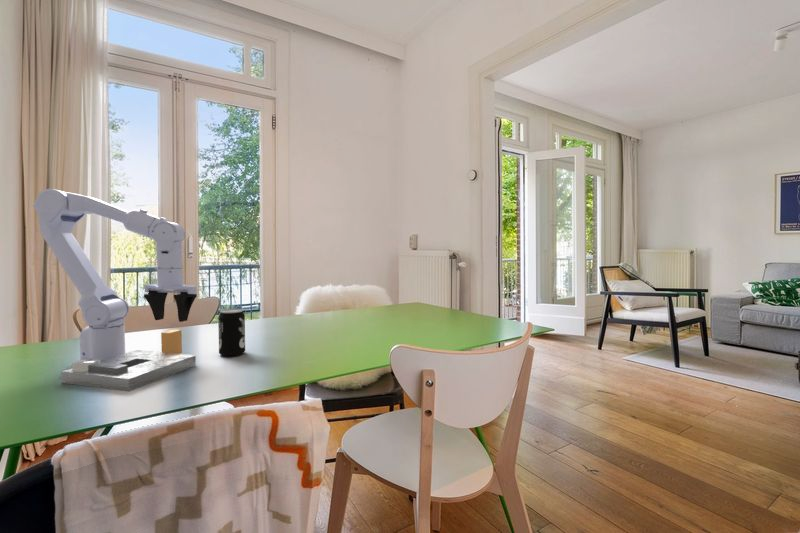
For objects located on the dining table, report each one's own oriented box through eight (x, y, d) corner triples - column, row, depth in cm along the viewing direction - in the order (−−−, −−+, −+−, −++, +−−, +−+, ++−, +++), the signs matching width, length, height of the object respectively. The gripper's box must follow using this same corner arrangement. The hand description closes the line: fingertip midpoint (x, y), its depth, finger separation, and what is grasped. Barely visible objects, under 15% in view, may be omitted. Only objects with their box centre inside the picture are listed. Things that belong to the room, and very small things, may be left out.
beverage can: (235, 358, 104) (235, 312, 103) (213, 356, 105) (212, 311, 104) (250, 351, 110) (249, 309, 110) (229, 350, 111) (228, 308, 111)
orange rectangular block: (161, 359, 102) (161, 332, 102) (174, 355, 106) (173, 329, 106) (169, 360, 102) (169, 333, 101) (182, 356, 106) (181, 330, 105)
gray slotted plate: (61, 382, 85) (61, 364, 84) (137, 359, 102) (136, 344, 102) (128, 391, 80) (128, 371, 80) (195, 365, 97) (195, 349, 97)
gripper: (133, 268, 101) (135, 321, 102) (180, 269, 97) (182, 324, 98) (157, 267, 108) (158, 316, 108) (202, 268, 104) (203, 319, 105)
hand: (171, 320), depth 104 cm, fingers open, 7 cm apart
